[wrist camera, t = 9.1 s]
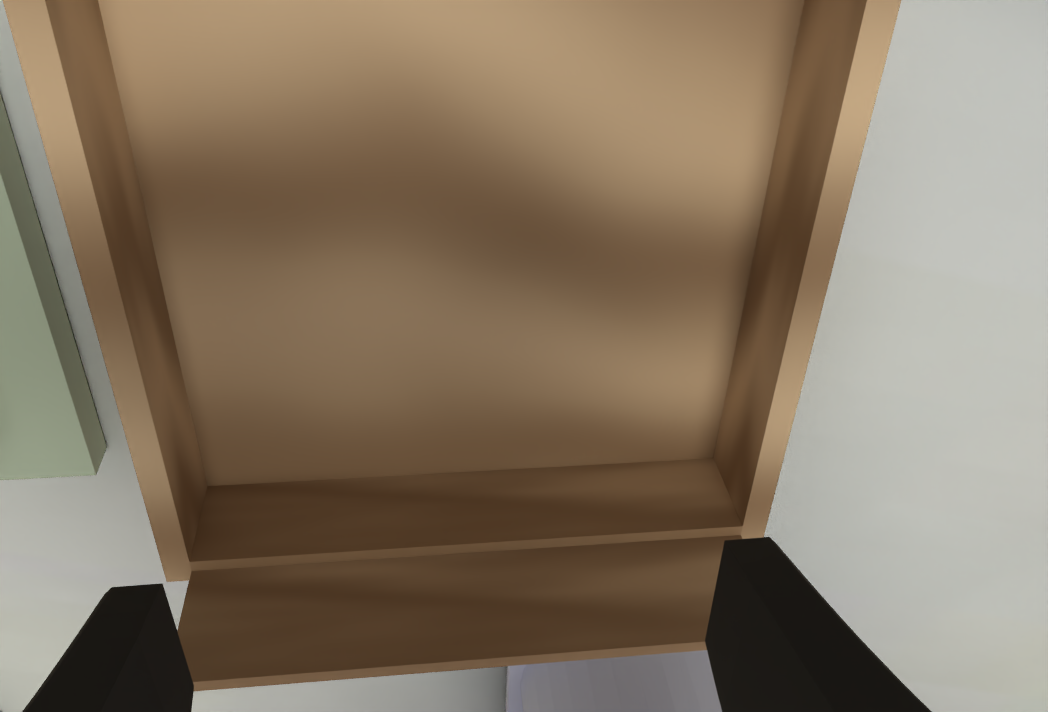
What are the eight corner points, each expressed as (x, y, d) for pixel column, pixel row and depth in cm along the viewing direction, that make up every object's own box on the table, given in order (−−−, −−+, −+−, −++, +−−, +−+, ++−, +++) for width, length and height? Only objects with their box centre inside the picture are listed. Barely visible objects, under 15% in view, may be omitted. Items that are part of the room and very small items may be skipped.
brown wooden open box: (726, 461, 25) (806, 642, 20) (190, 491, 23) (137, 695, 19) (860, -180, 16) (1059, -135, 11) (23, -202, 15) (-160, -161, 10)
